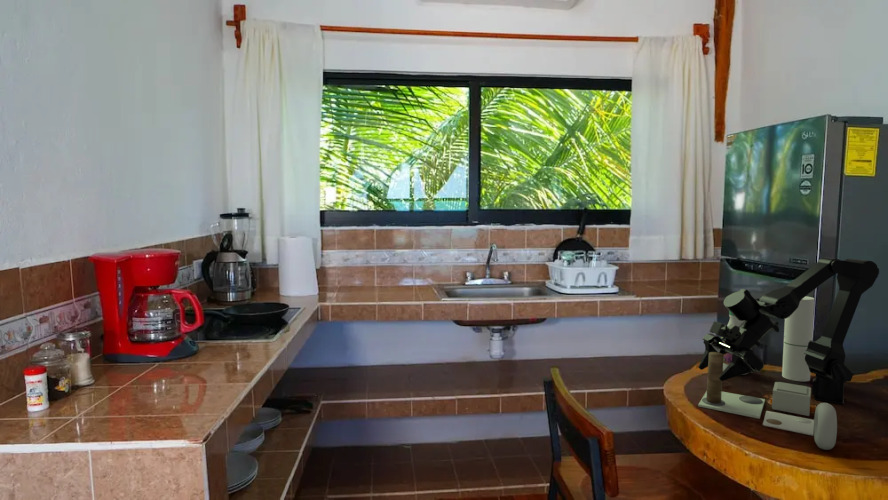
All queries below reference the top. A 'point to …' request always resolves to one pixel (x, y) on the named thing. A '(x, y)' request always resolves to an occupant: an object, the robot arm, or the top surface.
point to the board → (736, 404)
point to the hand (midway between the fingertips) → (709, 374)
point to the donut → (825, 426)
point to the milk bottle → (727, 357)
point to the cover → (791, 398)
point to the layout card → (789, 423)
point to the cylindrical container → (798, 341)
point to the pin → (714, 377)
